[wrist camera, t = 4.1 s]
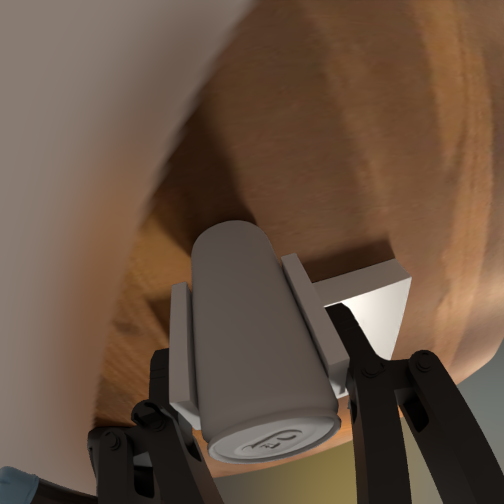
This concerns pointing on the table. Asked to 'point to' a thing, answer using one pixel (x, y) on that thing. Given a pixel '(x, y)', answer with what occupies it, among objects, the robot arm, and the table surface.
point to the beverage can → (254, 353)
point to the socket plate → (371, 301)
